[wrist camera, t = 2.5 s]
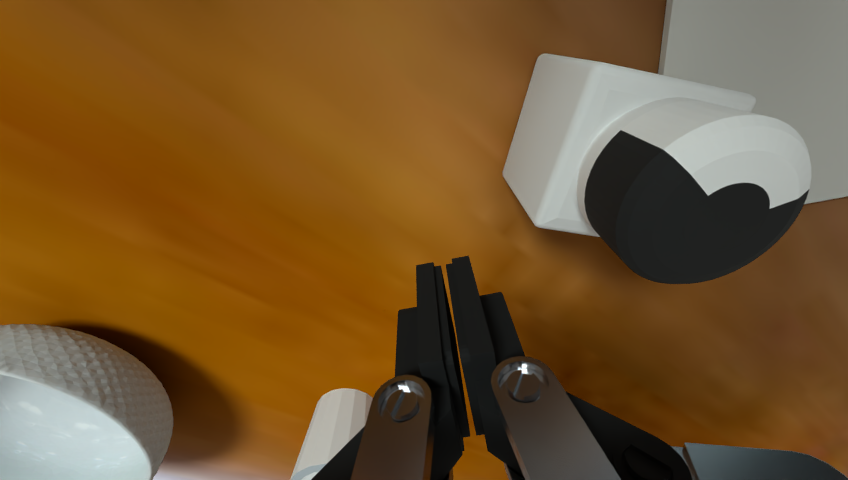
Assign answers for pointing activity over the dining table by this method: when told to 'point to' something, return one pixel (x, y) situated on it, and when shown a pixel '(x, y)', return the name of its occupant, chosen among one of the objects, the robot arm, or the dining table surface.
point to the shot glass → (331, 429)
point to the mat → (773, 68)
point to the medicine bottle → (655, 168)
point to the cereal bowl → (77, 408)
